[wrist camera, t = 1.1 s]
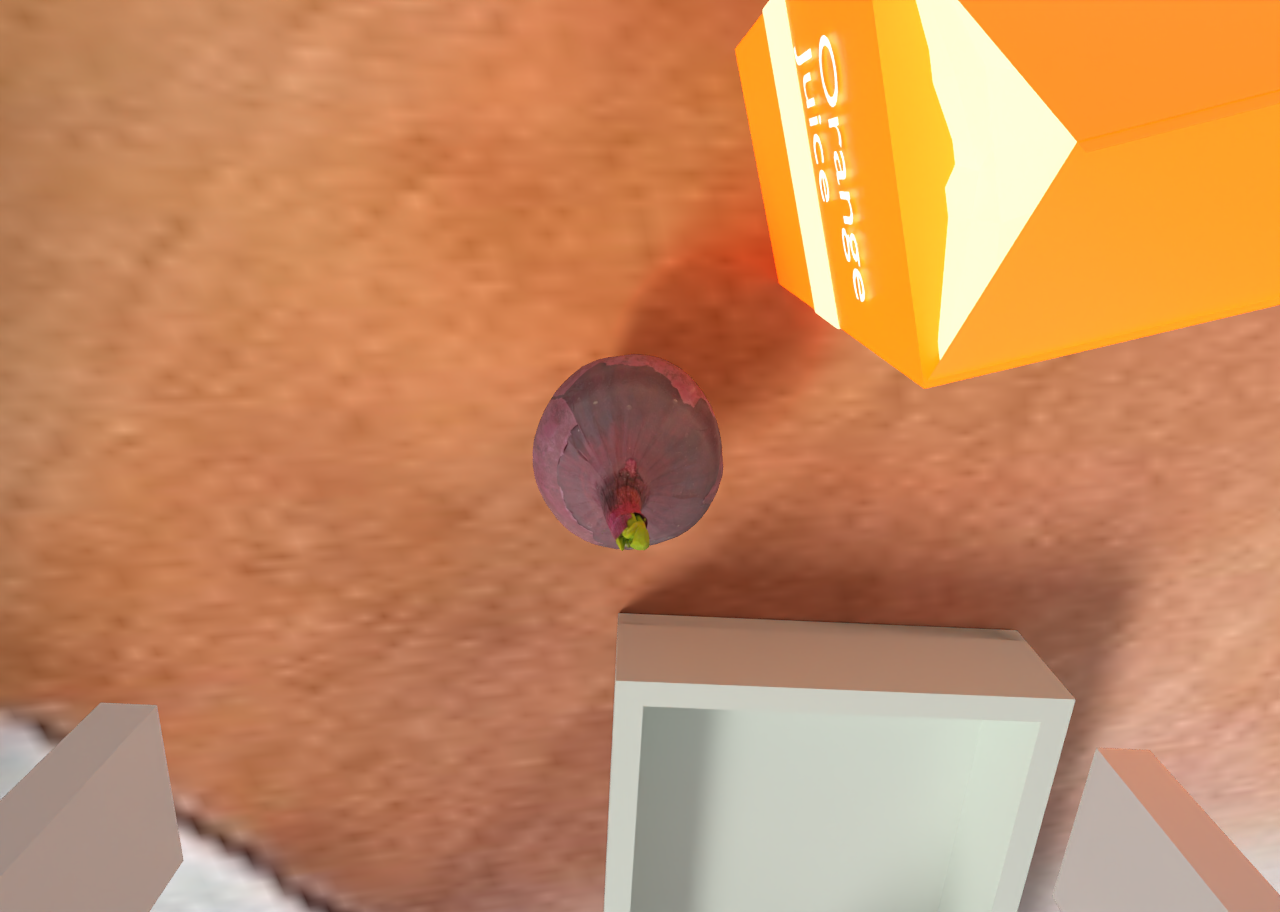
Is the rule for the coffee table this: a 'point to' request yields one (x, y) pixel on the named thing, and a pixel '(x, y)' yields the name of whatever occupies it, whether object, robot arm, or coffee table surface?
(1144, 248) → the orange juice
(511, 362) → the coffee table surface
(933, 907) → the grey tray
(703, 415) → the vegetable
